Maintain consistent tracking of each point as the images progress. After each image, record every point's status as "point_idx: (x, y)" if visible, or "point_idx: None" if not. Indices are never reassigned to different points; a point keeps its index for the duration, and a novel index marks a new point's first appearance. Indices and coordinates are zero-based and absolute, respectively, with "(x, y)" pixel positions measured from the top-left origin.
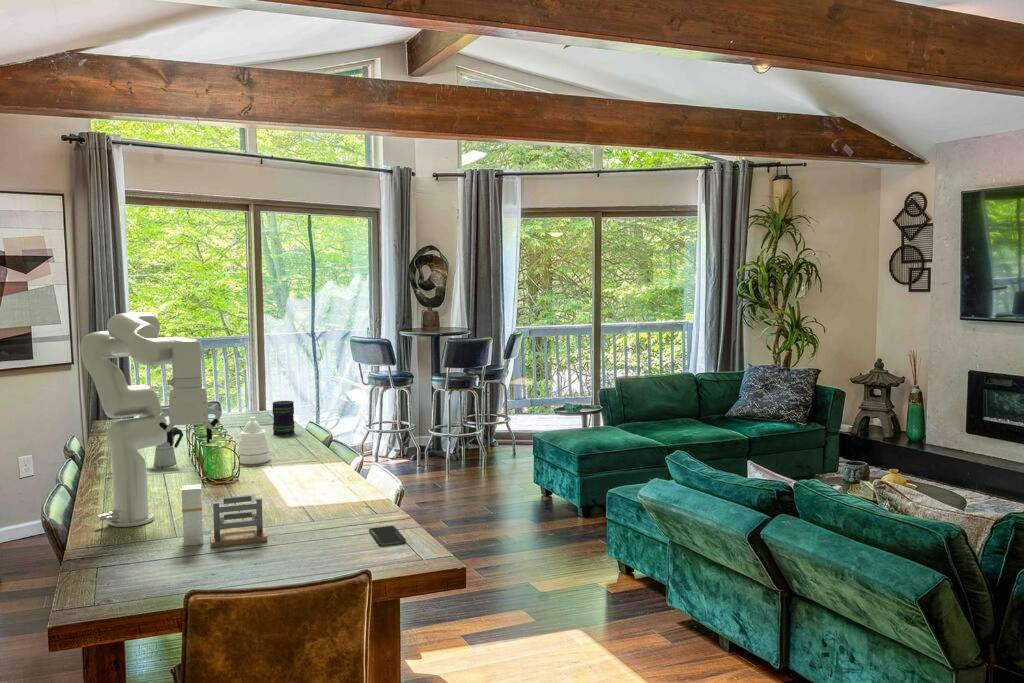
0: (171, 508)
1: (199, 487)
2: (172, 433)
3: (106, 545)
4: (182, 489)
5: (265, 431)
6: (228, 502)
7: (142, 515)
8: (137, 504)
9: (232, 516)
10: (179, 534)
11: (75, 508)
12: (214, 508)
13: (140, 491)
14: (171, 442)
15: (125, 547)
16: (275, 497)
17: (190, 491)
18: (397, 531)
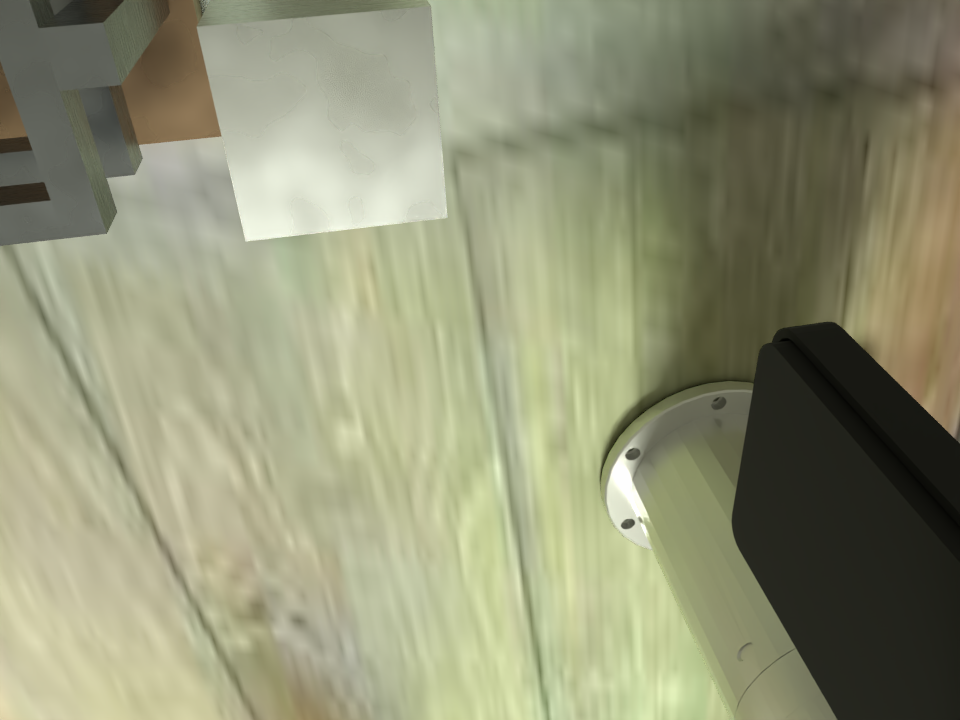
0: (527, 610)
1: (227, 84)
2: (900, 691)
3: (844, 92)
4: (424, 36)
5: None
6: (14, 188)
7: (666, 455)
8: (715, 487)
9: (21, 144)
10: None
11: None
12: (101, 13)
13: (727, 554)
14: (837, 369)
15: (748, 17)
16: (16, 713)
17: (326, 10)
18: None
